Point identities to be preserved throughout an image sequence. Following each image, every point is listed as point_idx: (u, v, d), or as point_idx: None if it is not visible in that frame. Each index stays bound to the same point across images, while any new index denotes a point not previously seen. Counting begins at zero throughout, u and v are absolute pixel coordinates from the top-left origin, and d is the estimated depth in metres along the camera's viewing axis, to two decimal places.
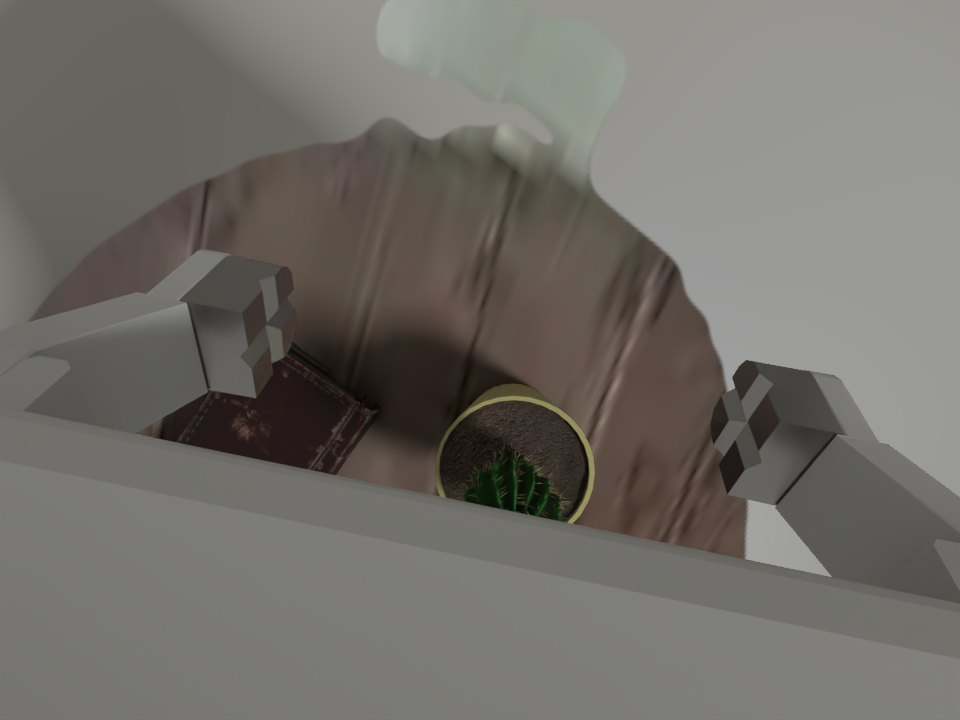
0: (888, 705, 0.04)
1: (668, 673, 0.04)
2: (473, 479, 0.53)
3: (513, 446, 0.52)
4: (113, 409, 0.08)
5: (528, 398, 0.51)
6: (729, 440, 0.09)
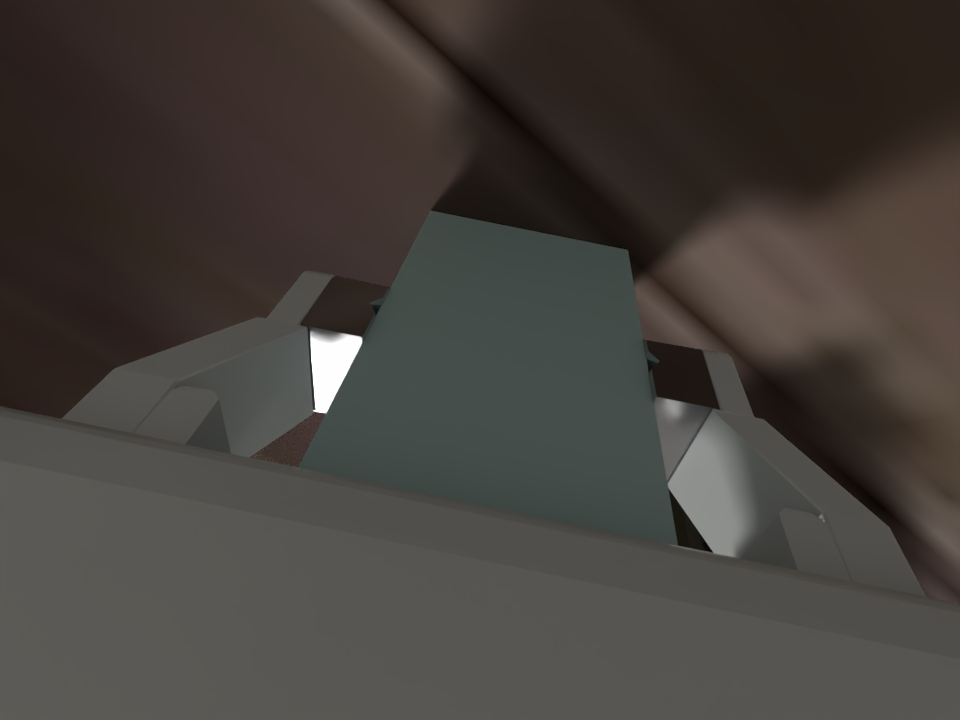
0: (888, 705, 0.04)
1: (668, 673, 0.04)
2: None
3: None
4: (235, 434, 0.08)
5: None
6: None
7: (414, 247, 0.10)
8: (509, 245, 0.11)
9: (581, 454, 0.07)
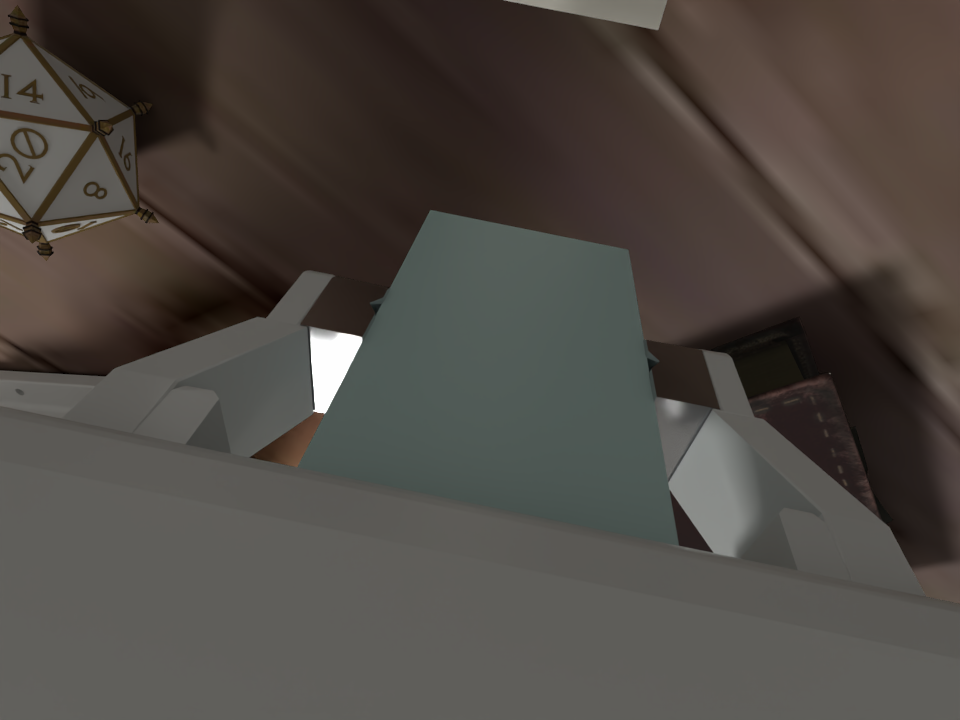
0: (888, 705, 0.04)
1: (668, 673, 0.04)
2: None
3: None
4: (235, 434, 0.08)
5: None
6: None
7: (414, 246, 0.10)
8: (509, 245, 0.11)
9: (582, 454, 0.07)
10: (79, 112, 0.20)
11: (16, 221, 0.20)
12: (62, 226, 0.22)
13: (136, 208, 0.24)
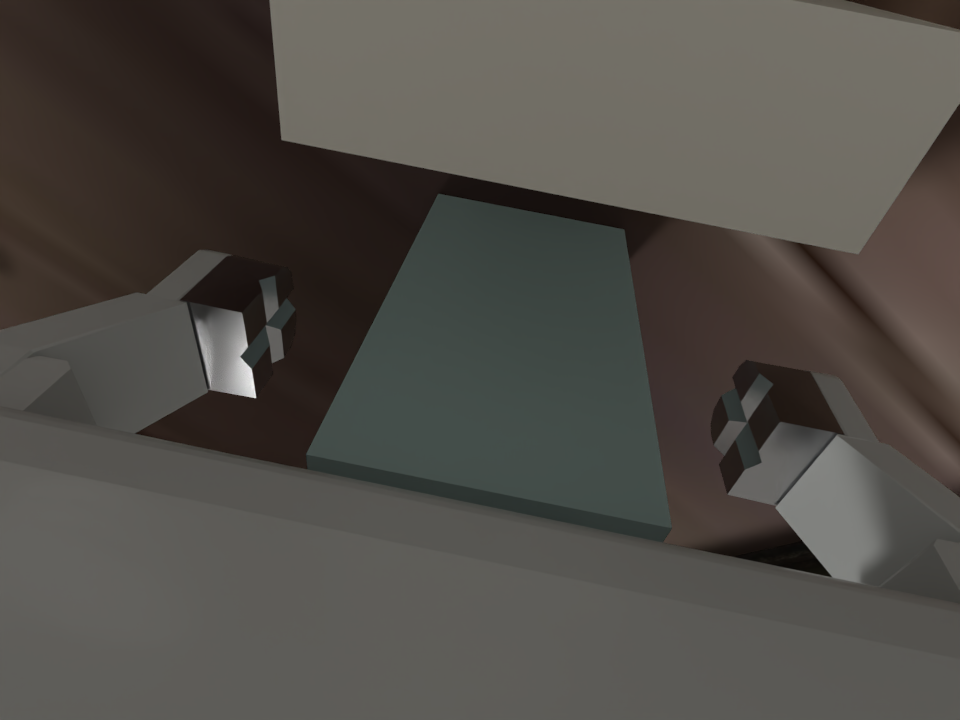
0: (888, 705, 0.04)
1: (668, 673, 0.04)
2: None
3: None
4: (113, 409, 0.08)
5: None
6: (730, 441, 0.09)
7: (424, 226, 0.11)
8: (512, 225, 0.12)
9: (578, 404, 0.08)
10: None
11: None
12: None
13: None
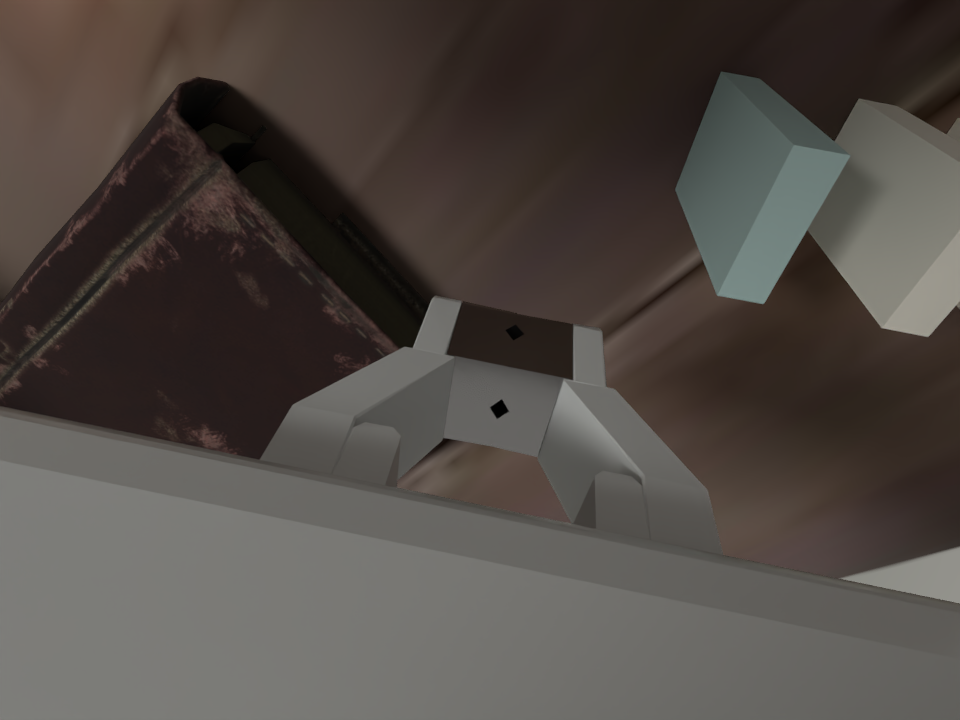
0: (888, 705, 0.04)
1: (668, 673, 0.04)
2: None
3: None
4: None
5: None
6: None
7: (773, 92, 0.18)
8: None
9: None
10: None
11: None
12: None
13: None
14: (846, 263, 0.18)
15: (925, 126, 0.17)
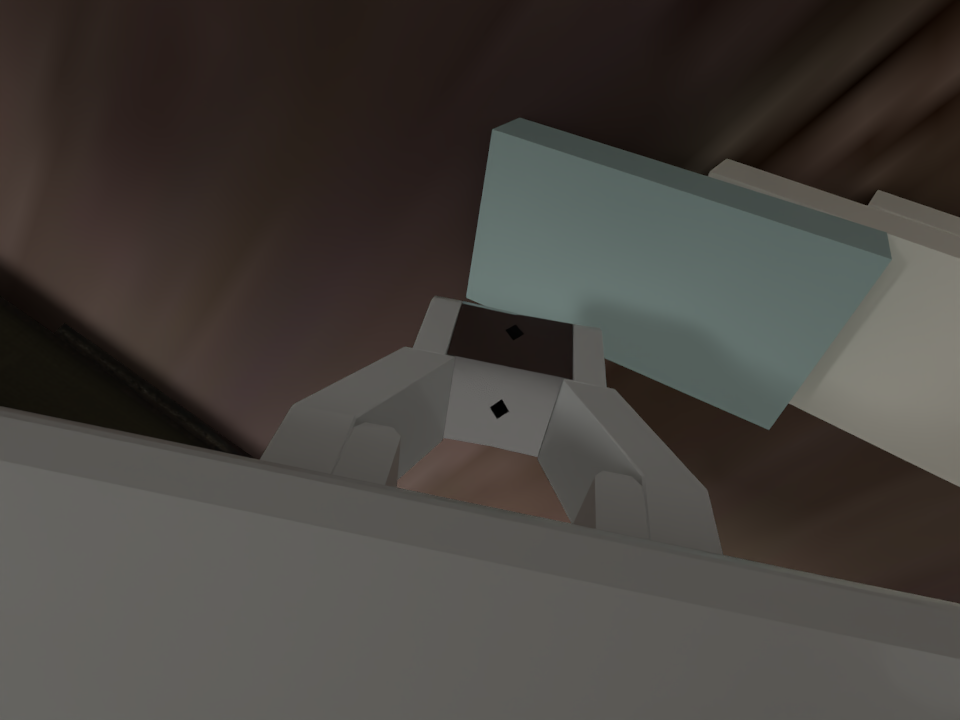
0: (888, 705, 0.04)
1: (668, 673, 0.04)
2: None
3: None
4: None
5: None
6: None
7: None
8: None
9: None
10: None
11: None
12: None
13: None
14: (837, 411, 0.12)
15: (843, 202, 0.11)
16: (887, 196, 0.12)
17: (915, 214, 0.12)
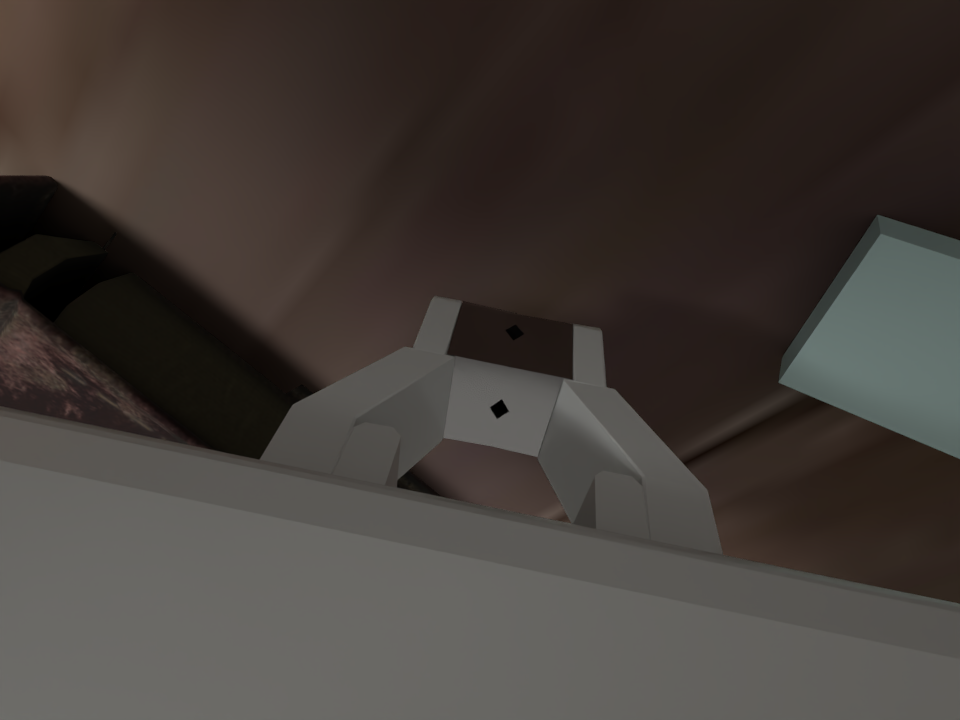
0: (888, 705, 0.04)
1: (668, 673, 0.04)
2: None
3: None
4: None
5: None
6: None
7: (958, 243, 0.12)
8: None
9: None
10: None
11: None
12: None
13: None
14: None
15: None
16: None
17: None
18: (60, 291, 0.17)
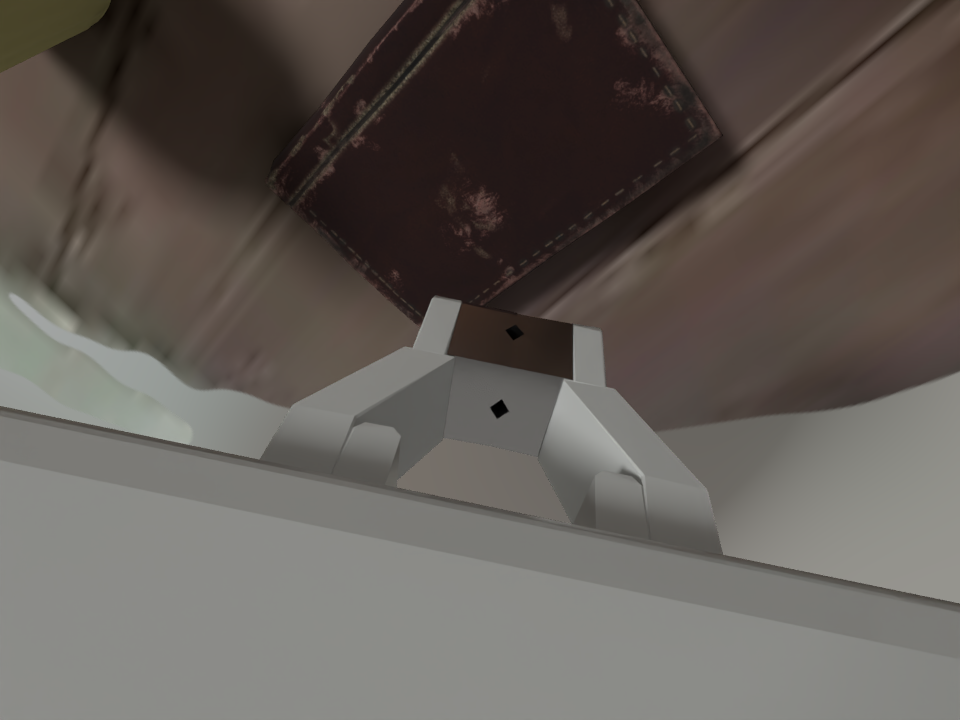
0: (888, 705, 0.04)
1: (668, 673, 0.04)
2: None
3: None
4: None
5: None
6: None
7: None
8: None
9: None
10: None
11: None
12: None
13: None
14: None
15: None
16: None
17: None
18: None
